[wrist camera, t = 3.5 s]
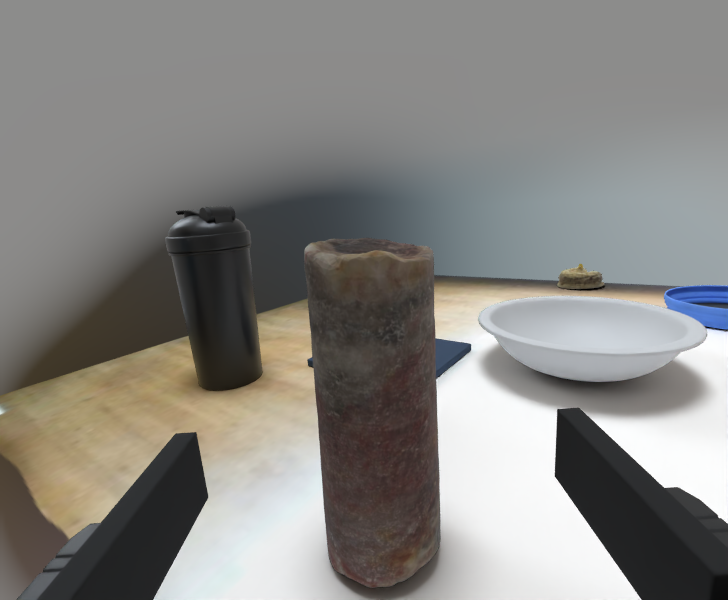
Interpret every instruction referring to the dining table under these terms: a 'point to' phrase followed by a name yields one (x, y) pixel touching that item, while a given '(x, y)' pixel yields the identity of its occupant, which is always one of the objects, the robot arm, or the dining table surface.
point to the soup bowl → (590, 335)
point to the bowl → (701, 303)
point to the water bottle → (217, 295)
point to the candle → (376, 404)
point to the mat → (442, 354)
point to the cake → (579, 279)
